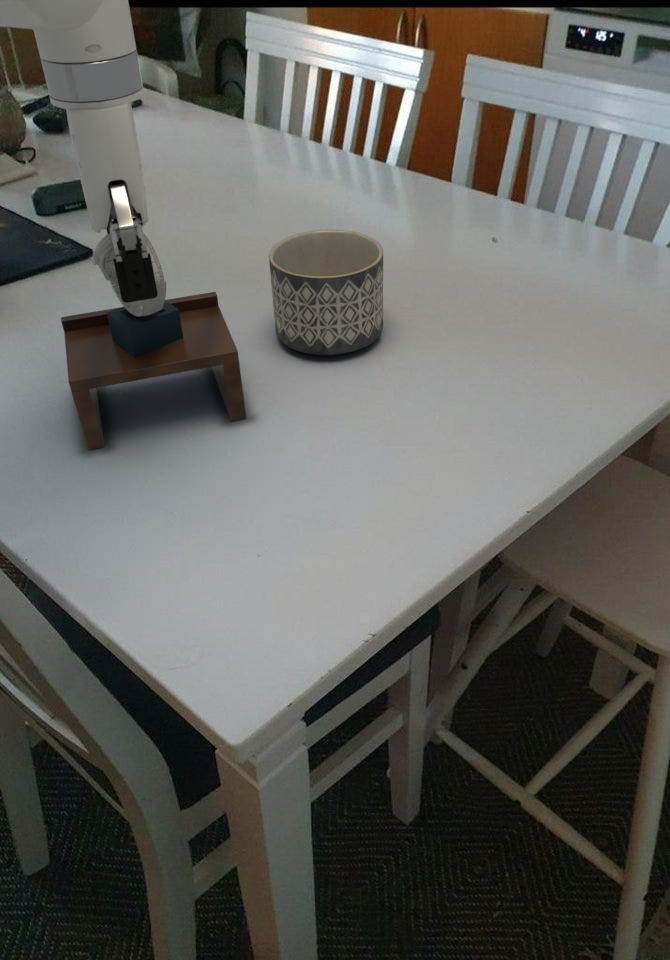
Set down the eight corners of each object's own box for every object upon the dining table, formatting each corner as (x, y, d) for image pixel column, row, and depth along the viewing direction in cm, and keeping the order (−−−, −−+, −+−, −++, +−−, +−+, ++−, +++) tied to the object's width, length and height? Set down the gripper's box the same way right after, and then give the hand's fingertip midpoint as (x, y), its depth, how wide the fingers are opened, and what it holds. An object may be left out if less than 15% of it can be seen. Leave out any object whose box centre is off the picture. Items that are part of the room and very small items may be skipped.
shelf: (88, 450, 80) (65, 370, 74) (81, 392, 88) (60, 316, 82) (246, 418, 83) (236, 340, 77) (226, 366, 92) (215, 291, 86)
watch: (151, 316, 84) (131, 212, 77) (193, 344, 80) (175, 236, 73) (102, 334, 82) (77, 228, 75) (143, 364, 77) (120, 254, 70)
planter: (375, 366, 90) (375, 279, 84) (265, 360, 92) (256, 274, 86) (388, 312, 100) (389, 231, 93) (288, 307, 102) (282, 227, 95)
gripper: (43, 60, 71) (88, 249, 82) (49, 111, 58) (101, 327, 69) (129, 51, 73) (162, 238, 84) (153, 99, 60) (188, 313, 71)
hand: (134, 278), depth 76 cm, fingers closed on watch, 8 cm apart
